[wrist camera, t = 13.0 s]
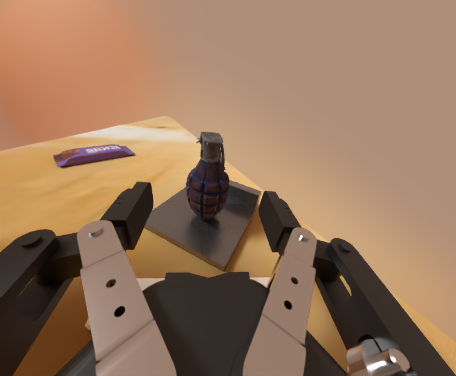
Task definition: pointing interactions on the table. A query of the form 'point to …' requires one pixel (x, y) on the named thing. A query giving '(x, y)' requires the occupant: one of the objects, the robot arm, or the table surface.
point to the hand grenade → (208, 178)
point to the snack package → (91, 154)
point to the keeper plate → (206, 224)
